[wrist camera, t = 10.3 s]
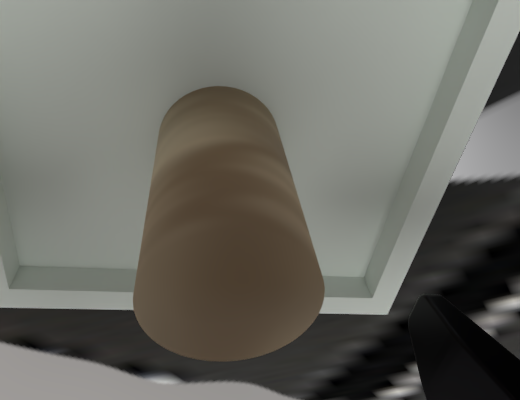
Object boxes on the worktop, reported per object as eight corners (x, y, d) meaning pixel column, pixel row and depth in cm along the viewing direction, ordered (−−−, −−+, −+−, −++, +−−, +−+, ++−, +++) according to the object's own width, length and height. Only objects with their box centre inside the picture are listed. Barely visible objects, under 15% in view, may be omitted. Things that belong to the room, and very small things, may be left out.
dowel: (288, 93, 14) (346, 235, 9) (268, 195, 17) (303, 361, 11) (160, 79, 14) (132, 223, 8) (156, 188, 16) (133, 361, 10)
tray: (513, -59, 13) (556, -49, 12) (373, 281, 21) (387, 314, 20) (-102, -170, 10) (-158, -177, 9) (3, 269, 18) (-16, 307, 17)
